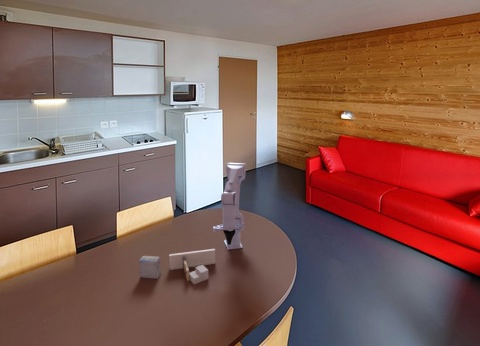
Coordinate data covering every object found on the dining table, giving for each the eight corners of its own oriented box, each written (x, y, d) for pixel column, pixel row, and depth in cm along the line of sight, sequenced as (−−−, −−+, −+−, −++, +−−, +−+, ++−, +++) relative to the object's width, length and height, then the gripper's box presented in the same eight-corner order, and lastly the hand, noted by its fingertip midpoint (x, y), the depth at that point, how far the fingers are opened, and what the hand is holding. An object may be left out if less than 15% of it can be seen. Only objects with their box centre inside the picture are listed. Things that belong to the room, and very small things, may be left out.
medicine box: (161, 273, 138) (160, 256, 135) (157, 279, 133) (156, 261, 131) (144, 272, 138) (142, 255, 136) (140, 278, 134) (138, 260, 132)
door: (182, 270, 140) (182, 260, 138) (186, 269, 140) (185, 260, 139) (185, 281, 132) (185, 271, 131) (189, 280, 133) (188, 270, 131)
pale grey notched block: (188, 279, 134) (188, 270, 133) (202, 273, 138) (202, 264, 137) (194, 284, 130) (193, 275, 129) (208, 279, 134) (208, 270, 133)
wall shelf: (169, 267, 142) (169, 254, 140) (214, 261, 147) (214, 248, 145) (170, 271, 139) (169, 257, 137) (215, 265, 144) (215, 251, 142)
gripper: (214, 222, 135) (215, 249, 139) (246, 219, 138) (246, 245, 142) (212, 215, 141) (212, 242, 145) (242, 212, 145) (242, 238, 149)
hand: (228, 243), depth 144 cm, fingers closed
